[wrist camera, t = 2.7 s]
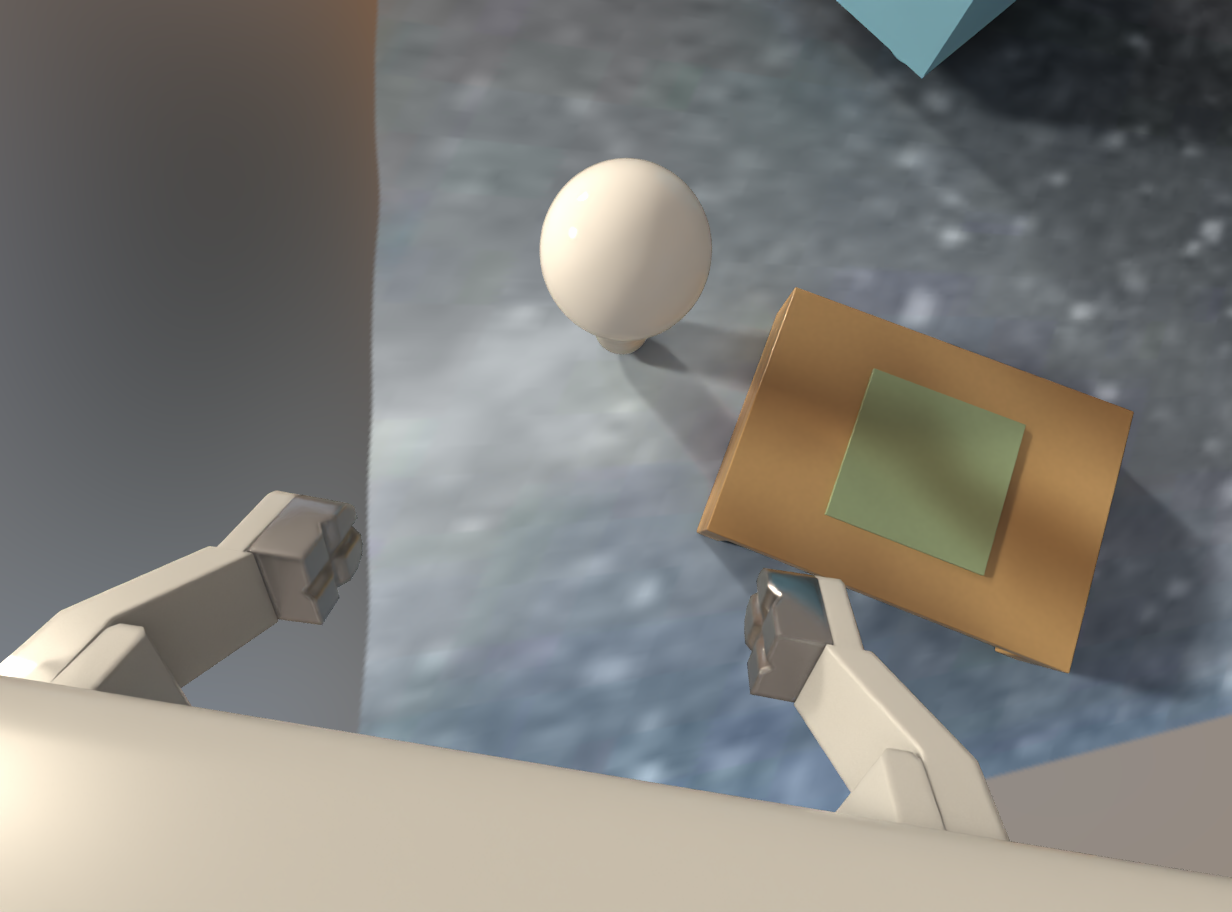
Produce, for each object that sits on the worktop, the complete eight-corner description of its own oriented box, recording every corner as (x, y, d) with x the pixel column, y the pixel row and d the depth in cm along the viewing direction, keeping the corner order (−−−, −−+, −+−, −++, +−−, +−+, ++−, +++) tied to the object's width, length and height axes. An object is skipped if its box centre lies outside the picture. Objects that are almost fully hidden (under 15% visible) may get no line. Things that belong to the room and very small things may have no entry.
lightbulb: (707, 316, 29) (765, 177, 18) (640, 418, 28) (659, 334, 17) (603, 253, 30) (599, 81, 19) (534, 350, 29) (488, 229, 18)
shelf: (1018, 660, 26) (1073, 675, 23) (695, 532, 27) (706, 529, 24) (1080, 426, 28) (1138, 410, 25) (777, 313, 29) (796, 284, 26)
